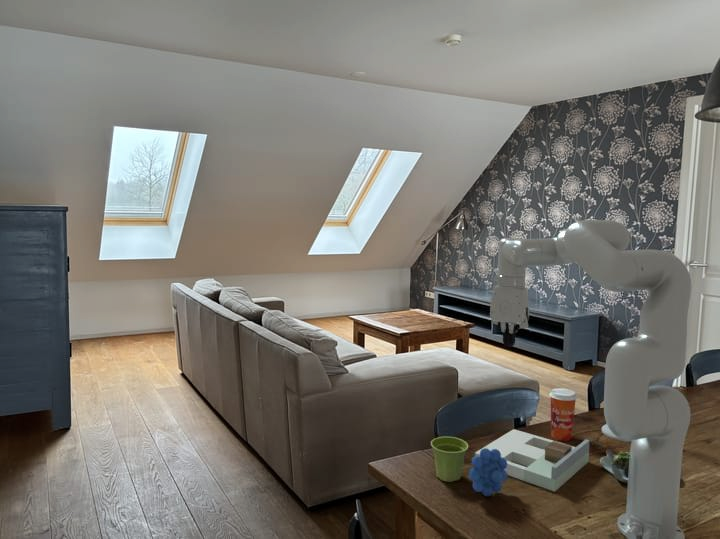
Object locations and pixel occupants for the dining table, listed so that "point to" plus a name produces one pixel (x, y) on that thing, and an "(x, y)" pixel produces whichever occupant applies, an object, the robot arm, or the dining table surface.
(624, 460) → the salad plate
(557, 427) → the paper cup
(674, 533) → the robot arm
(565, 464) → the white compartment tray
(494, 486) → the grapes
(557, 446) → the block
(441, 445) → the plant pot
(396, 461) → the dining table surface
